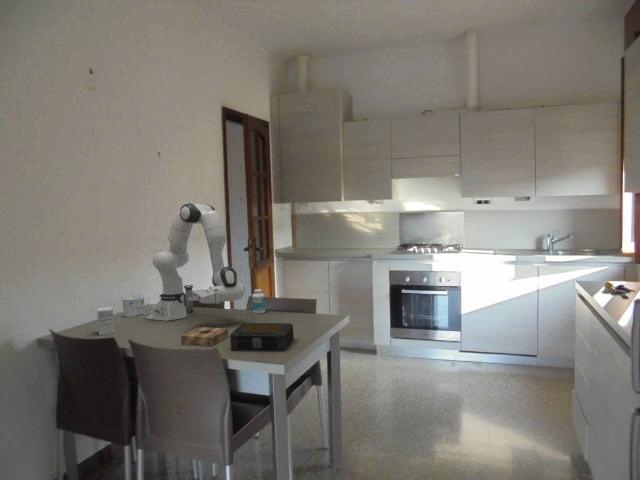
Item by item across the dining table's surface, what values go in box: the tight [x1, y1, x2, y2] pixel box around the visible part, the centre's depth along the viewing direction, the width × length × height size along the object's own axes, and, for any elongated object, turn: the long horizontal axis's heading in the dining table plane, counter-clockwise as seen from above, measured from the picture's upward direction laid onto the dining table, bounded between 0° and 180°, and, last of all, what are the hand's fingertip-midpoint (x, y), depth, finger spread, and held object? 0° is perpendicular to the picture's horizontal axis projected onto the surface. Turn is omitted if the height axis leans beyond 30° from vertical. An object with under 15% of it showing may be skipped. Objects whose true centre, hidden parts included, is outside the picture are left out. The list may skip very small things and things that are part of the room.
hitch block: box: [180, 326, 229, 347], centre depth 232 cm, size 16×16×4 cm
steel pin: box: [183, 284, 194, 315], centre depth 249 cm, size 4×4×14 cm
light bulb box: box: [121, 295, 146, 318], centre depth 289 cm, size 11×7×11 cm, turn 144°
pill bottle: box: [251, 288, 266, 315], centre depth 287 cm, size 8×7×14 cm
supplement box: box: [96, 306, 115, 336], centre depth 252 cm, size 7×7×13 cm
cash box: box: [229, 322, 294, 352], centre depth 223 cm, size 25×20×8 cm
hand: (187, 298), depth 248 cm, fingers closed on steel pin, 3 cm apart
